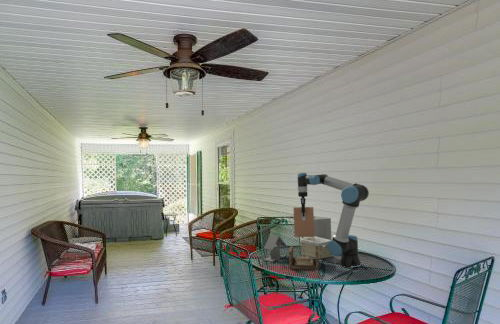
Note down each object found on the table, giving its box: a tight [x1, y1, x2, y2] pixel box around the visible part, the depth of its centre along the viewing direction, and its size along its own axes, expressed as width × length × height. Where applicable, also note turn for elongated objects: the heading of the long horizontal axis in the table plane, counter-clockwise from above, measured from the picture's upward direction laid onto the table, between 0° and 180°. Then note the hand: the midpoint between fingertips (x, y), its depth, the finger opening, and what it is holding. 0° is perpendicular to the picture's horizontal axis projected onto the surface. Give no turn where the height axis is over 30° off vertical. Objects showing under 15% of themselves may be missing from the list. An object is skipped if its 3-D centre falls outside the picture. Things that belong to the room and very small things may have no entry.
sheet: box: [293, 206, 315, 238], centre depth 270 cm, size 2×16×24 cm, turn 78°
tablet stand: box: [263, 234, 287, 263], centre depth 275 cm, size 18×10×20 cm, turn 137°
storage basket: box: [300, 236, 333, 260], centre depth 279 cm, size 24×16×15 cm
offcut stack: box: [294, 256, 314, 266], centre depth 246 cm, size 6×14×7 cm, turn 78°
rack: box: [288, 245, 320, 270], centre depth 251 cm, size 18×21×14 cm
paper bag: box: [314, 215, 333, 240], centre depth 304 cm, size 19×15×28 cm
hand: (303, 220), depth 270 cm, fingers closed on sheet, 2 cm apart
